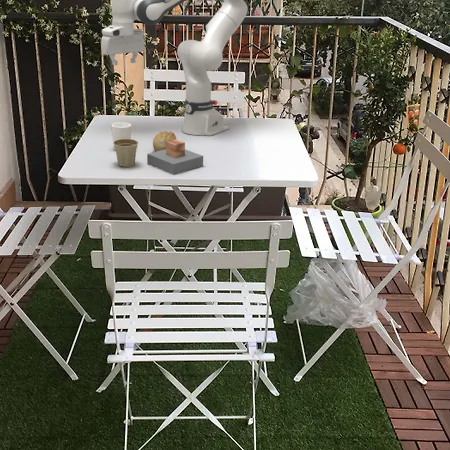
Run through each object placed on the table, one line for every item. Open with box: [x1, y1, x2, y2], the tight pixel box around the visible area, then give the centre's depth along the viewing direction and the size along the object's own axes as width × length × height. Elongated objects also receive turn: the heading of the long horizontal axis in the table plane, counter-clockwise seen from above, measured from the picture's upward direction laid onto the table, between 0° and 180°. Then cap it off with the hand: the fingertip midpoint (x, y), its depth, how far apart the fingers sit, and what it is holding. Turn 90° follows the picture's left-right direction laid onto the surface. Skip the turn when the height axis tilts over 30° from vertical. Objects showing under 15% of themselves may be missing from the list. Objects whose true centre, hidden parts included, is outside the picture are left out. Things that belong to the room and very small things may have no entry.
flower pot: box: [112, 138, 139, 168], centre depth 220 cm, size 9×9×9 cm
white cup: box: [111, 121, 132, 151], centre depth 236 cm, size 8×8×10 cm
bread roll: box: [152, 130, 177, 152], centre depth 237 cm, size 10×15×8 cm, turn 2°
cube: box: [166, 138, 186, 158], centre depth 221 cm, size 5×5×5 cm
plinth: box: [146, 148, 204, 175], centre depth 223 cm, size 15×15×4 cm
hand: (124, 63), depth 249 cm, fingers open, 8 cm apart
